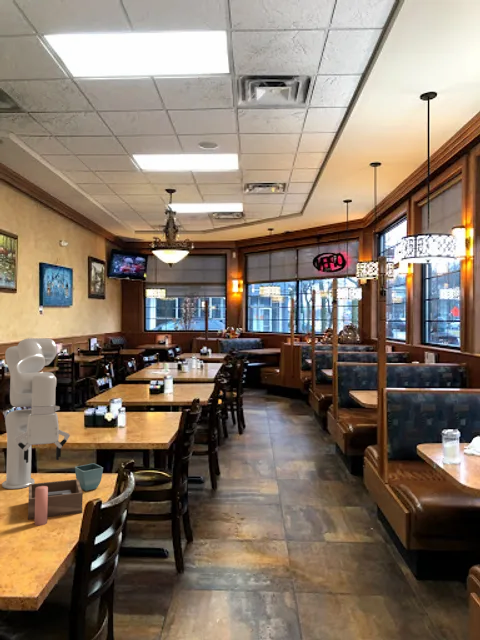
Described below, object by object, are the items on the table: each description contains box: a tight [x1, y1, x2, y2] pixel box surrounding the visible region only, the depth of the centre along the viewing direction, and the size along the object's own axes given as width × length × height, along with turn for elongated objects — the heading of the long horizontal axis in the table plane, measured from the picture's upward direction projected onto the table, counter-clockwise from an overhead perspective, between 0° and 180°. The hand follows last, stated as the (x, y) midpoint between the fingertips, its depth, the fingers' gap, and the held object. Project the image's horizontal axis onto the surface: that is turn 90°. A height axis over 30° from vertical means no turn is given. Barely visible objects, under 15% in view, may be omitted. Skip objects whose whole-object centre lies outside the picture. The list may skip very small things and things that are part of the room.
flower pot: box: [74, 463, 104, 492], centre depth 204 cm, size 9×9×9 cm
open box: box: [27, 478, 84, 520], centre depth 182 cm, size 18×18×7 cm
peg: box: [34, 486, 48, 526], centre depth 167 cm, size 4×4×12 cm
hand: (42, 460), depth 167 cm, fingers open, 9 cm apart
